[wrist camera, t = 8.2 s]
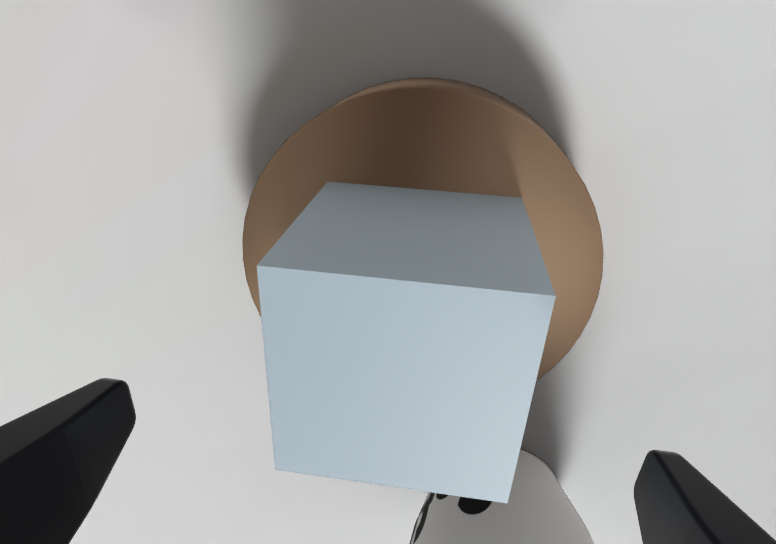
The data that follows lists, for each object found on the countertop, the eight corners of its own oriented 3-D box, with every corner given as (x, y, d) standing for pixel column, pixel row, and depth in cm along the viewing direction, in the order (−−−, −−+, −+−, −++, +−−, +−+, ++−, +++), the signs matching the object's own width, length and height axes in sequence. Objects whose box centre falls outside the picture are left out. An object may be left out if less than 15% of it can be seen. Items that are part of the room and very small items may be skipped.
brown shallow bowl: (621, 90, 13) (652, 104, 11) (546, 381, 18) (559, 432, 15) (261, 66, 14) (224, 74, 12) (280, 348, 19) (256, 392, 16)
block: (522, 197, 12) (555, 296, 8) (493, 357, 15) (507, 503, 10) (328, 181, 13) (257, 265, 8) (330, 338, 15) (275, 470, 11)
